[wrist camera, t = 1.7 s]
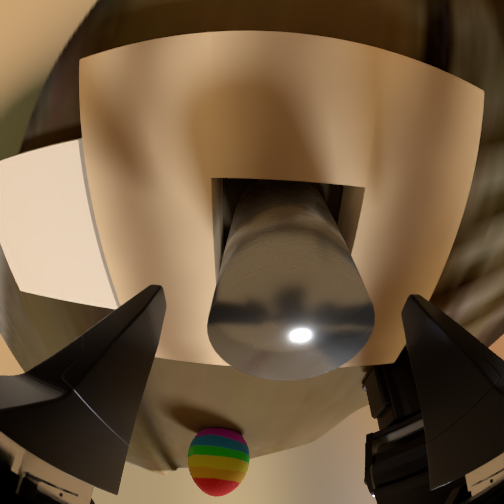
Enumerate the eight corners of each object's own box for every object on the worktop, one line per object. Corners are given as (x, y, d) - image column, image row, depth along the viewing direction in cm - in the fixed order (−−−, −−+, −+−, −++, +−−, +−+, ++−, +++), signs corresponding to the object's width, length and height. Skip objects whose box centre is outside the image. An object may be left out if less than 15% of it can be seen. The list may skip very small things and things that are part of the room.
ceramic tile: (86, 137, 12) (78, 139, 11) (122, 302, 18) (118, 309, 18) (-14, 164, 12) (-20, 168, 12) (24, 285, 19) (20, 290, 18)
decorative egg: (180, 425, 31) (168, 487, 22) (229, 420, 28) (221, 493, 20) (215, 443, 34) (208, 498, 26) (261, 439, 32) (258, 500, 23)
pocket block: (450, 87, 9) (484, 91, 7) (383, 333, 19) (393, 362, 16) (112, 62, 10) (79, 59, 7) (152, 324, 19) (139, 354, 17)
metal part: (333, 178, 13) (397, 270, 6) (320, 261, 16) (348, 378, 9) (234, 172, 13) (199, 261, 6) (234, 257, 16) (213, 376, 9)
